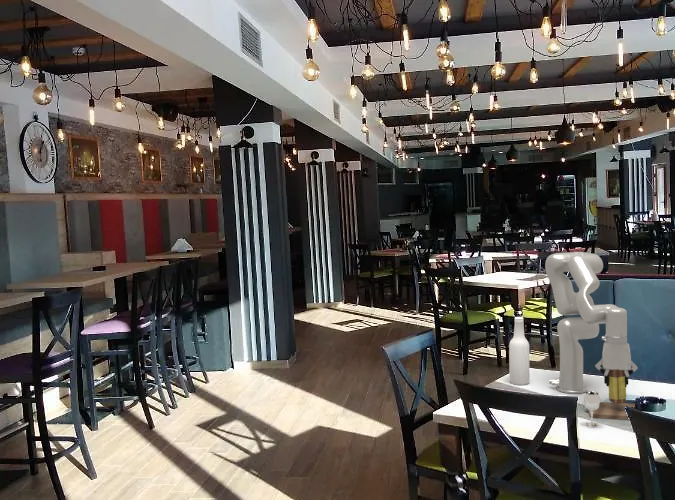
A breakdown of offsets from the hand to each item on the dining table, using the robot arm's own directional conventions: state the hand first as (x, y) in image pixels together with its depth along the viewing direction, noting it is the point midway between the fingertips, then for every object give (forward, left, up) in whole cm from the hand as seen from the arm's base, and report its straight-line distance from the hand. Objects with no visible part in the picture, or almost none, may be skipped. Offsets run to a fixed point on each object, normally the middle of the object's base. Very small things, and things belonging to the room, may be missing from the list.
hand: (616, 385), depth 257 cm
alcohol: (-37, +35, -11) cm, 52 cm away
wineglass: (-10, -16, -11) cm, 22 cm away
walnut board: (0, 0, -11) cm, 11 cm away
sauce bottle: (0, 0, -7) cm, 7 cm away
